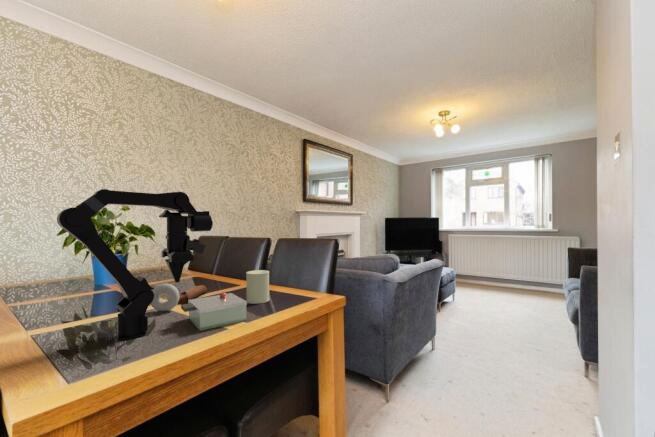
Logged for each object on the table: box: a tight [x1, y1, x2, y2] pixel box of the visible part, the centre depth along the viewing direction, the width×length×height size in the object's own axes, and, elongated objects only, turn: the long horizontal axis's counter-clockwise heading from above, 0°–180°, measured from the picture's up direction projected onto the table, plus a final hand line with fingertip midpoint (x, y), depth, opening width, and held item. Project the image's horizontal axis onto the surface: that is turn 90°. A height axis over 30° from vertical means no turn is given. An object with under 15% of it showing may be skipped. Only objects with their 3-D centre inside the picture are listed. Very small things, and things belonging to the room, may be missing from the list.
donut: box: [150, 282, 180, 312], centre depth 103 cm, size 10×3×10 cm, turn 97°
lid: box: [180, 292, 248, 314], centre depth 93 cm, size 17×14×2 cm
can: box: [245, 269, 270, 305], centre depth 117 cm, size 9×9×12 cm
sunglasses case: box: [177, 284, 208, 305], centre depth 122 cm, size 18×7×7 cm
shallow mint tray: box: [188, 305, 247, 332], centre depth 94 cm, size 14×14×5 cm
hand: (177, 282), depth 91 cm, fingers closed
